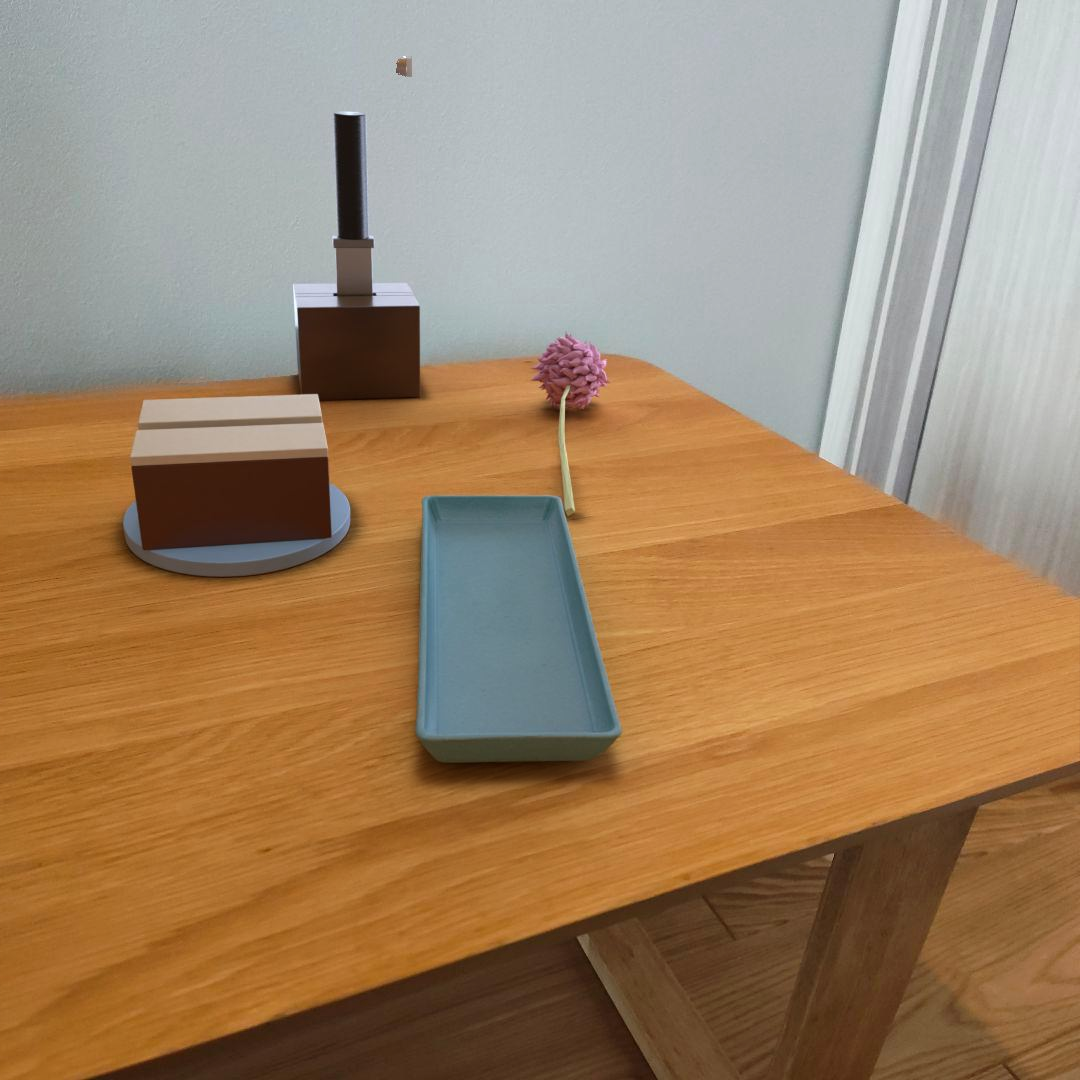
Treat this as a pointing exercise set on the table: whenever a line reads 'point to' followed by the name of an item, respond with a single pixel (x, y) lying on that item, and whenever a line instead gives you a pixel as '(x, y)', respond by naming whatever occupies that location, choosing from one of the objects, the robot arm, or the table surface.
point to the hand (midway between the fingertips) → (349, 64)
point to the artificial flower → (570, 388)
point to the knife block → (357, 342)
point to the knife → (352, 206)
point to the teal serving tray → (507, 636)
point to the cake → (232, 485)
